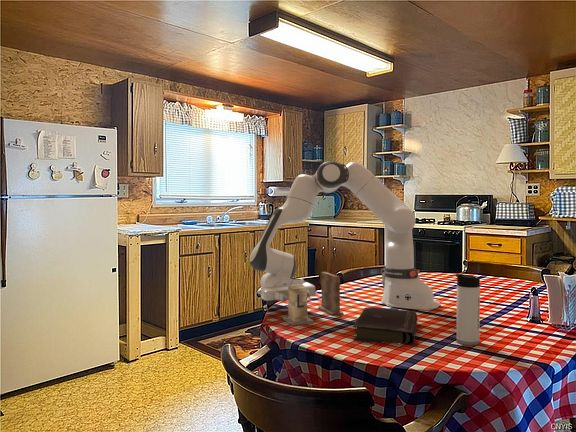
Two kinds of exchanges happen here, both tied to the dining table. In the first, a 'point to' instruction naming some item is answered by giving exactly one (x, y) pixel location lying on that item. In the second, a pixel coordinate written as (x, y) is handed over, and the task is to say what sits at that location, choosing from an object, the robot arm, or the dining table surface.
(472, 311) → the travel mug
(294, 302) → the tan boxy piece
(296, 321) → the slate coaster
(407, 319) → the diary
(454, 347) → the dining table surface
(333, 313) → the screen
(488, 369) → the dining table surface
